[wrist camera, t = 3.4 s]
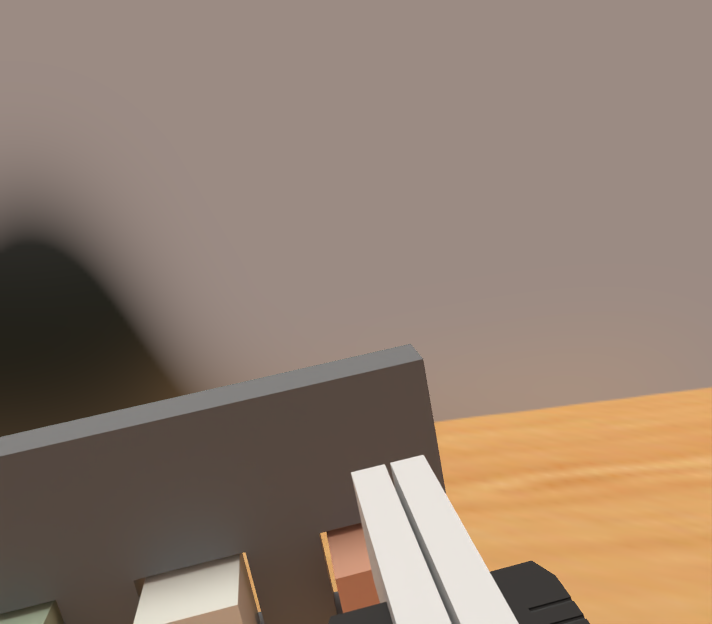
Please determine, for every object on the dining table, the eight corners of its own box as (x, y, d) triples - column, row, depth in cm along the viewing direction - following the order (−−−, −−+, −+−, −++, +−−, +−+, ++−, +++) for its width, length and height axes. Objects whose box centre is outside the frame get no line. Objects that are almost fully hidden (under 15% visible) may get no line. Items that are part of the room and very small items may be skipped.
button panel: (17, 883, 26) (-153, 491, 22) (77, 703, 35) (-36, 396, 30) (488, 744, 28) (422, 359, 24) (434, 607, 37) (378, 305, 32)
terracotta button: (354, 664, 23) (335, 579, 22) (342, 600, 27) (324, 523, 26) (451, 637, 24) (435, 552, 23) (426, 578, 27) (412, 501, 26)
